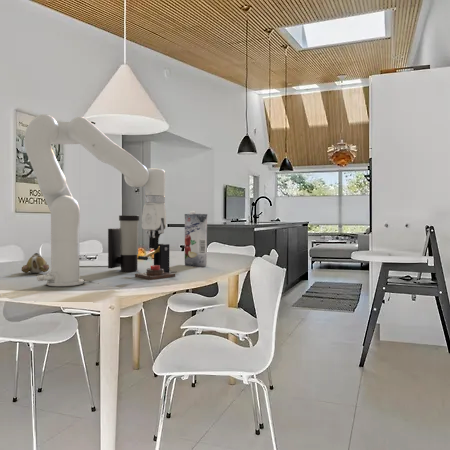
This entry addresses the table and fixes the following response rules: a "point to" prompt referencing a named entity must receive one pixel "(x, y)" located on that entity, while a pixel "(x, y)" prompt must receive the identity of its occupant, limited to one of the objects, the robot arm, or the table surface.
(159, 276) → the button block
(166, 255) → the switch bracket
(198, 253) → the juice carton
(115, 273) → the table surface
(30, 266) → the ceramic sculpture
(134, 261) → the light fixture
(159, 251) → the switch lever
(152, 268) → the button
